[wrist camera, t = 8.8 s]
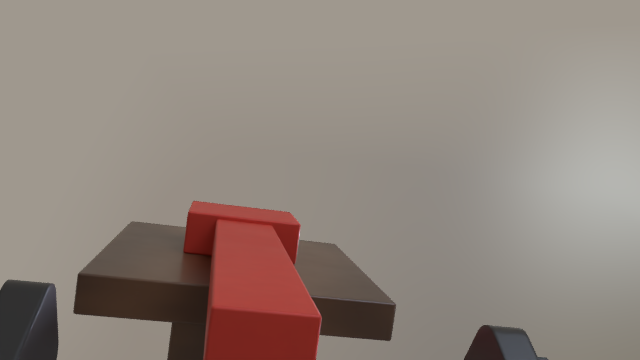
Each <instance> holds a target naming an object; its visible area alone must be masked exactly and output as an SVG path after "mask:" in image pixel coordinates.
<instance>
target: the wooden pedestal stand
mask: <svg viewBox="0 0 640 360" xmlns="http://www.w3.org/2000/svg"><path fill="white" fill-rule="evenodd" d="M185 233H186V227H178V226H169V225H160V224H151V223H142V222H131V223H130V224H129V225H128V226H127V227H126V228H124V229H123V231H122V232H120V233H119V234H118V235H117V236H116V237H115V238H114V239H113V240H112V241H111V242H110V243H109V244H108V245H107V246H106V247H105V248H104V249H103V250H102V251H101V252H100V253H99V254H98V255H97V256H96V257H95V258H94V259H93V260H92V261H91V262H90V263H89V264H88V265H87V266H86V267H85V268H84V269H83V270H82V271H81V272H79V274H78V278H77V286H76V294H75V302H74V313H75V314H81V315H93V316H106V317H117V318H128V319H140V320H151V321H163V322H172V327H171V336H170V343H169V351H168V359H167V360H203V356H204V344H205V332H206V320H207V308H208V296H209V283H210V271H211V259H212V256H207V255H198V254H188V253H184V252H183V248H184V240H185ZM293 265H294V267H295V269H296V270H297V272H298V274H299V276H300V278H301V280H302V282H303V283H304V285H305V287H306V289H307V291H308V293H309V294H310V296H311V298H312V300H313V302H314V304H315V305H316V307H317V309H318V311H319V313H320V315H321V317H322V320H321V327H320V334H319V335H326V336H338V337H350V338H362V339H373V340H385V341H390V340H391V337H392V329H393V323H394V316H395V309H396V304H395V303H394V302H393V301H392V300H391V299H390V298H389V297H388V296H387V295H386V294H385V293H384V292H383V291H382V290H381V289H380V288H379V287H378V286H377V285H376V284H375V283H374V282H373V281H372V280H371V279H370V278H369V277H368V276H367V275H366V274H365V273H364V272H363V271H362V270H361V269H360V268H359V267H357V265H356V264H355V263H353V261H351V260H350V259H349V258H348V257H347V256H346V255H345V254H344V253H343V252H342V251H341V250H340V249H339V248H338V247H337V246H336V245H335V244H329V243H321V242H312V241H303V240H299V242H298V249H297V256H296V263H295V264H293Z"/></svg>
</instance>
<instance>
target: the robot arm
mask: <svg viewBox="0 0 640 360" xmlns="http://www.w3.org/2000/svg"><path fill="white" fill-rule="evenodd" d="M57 352H58V323H57V303H56V288H55V285H54V284H50V283H41V282H29V281H18V280H7V281H6V282H5V283H4V285H3V286H2V288H1V290H0V360H56V358H57ZM464 360H548V359H547V358H543V357H537V355H536V353H535V351H534V348H533V346H532V344H531V342H530V340H529V338H528V336H527V334H526V332H525V331H524V330H523V329H520V328H511V327H501V326H490V325H483V326H482V327H481V328H480V329H479V330H478V332H477V334H476V336H475V338H474V340H473V342H472V344H471V346H470V348H469V350H468V352H467V354H466V356H465V358H464Z"/></svg>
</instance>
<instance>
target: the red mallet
mask: <svg viewBox="0 0 640 360" xmlns="http://www.w3.org/2000/svg"><path fill="white" fill-rule="evenodd" d="M300 227H301V225H300V224H299V222H298V221H297V220H296V219H295V218H294V217H293V215H292V214H291V213H289V212H282V211H274V210H266V209H258V208H249V207H241V206H232V205H223V204H215V203H207V202H199V201H193V203H192V205H191V207H190V210H189V212H188V217H187V225H186V233H185V240H184V248H183V252H184V253H188V254H198V255H207V256H212V259H211V271H210V283H209V296H208V308H207V320H206V332H205V344H204V356H203V360H316V355H317V348H318V341H319V334H320V327H321V320H322V317H321V315H320V313H319V311H318V309H317V307H316V305H315V304H314V302H313V300H312V298H311V296H310V294H309V293H308V291H307V289H306V287H305V285H304V283H303V282H302V280H301V278H300V276H299V274H298V272H297V270H296V269H295V267H294V265H293V264H295V263H296V256H297V249H298V242H299V234H300Z"/></svg>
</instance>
